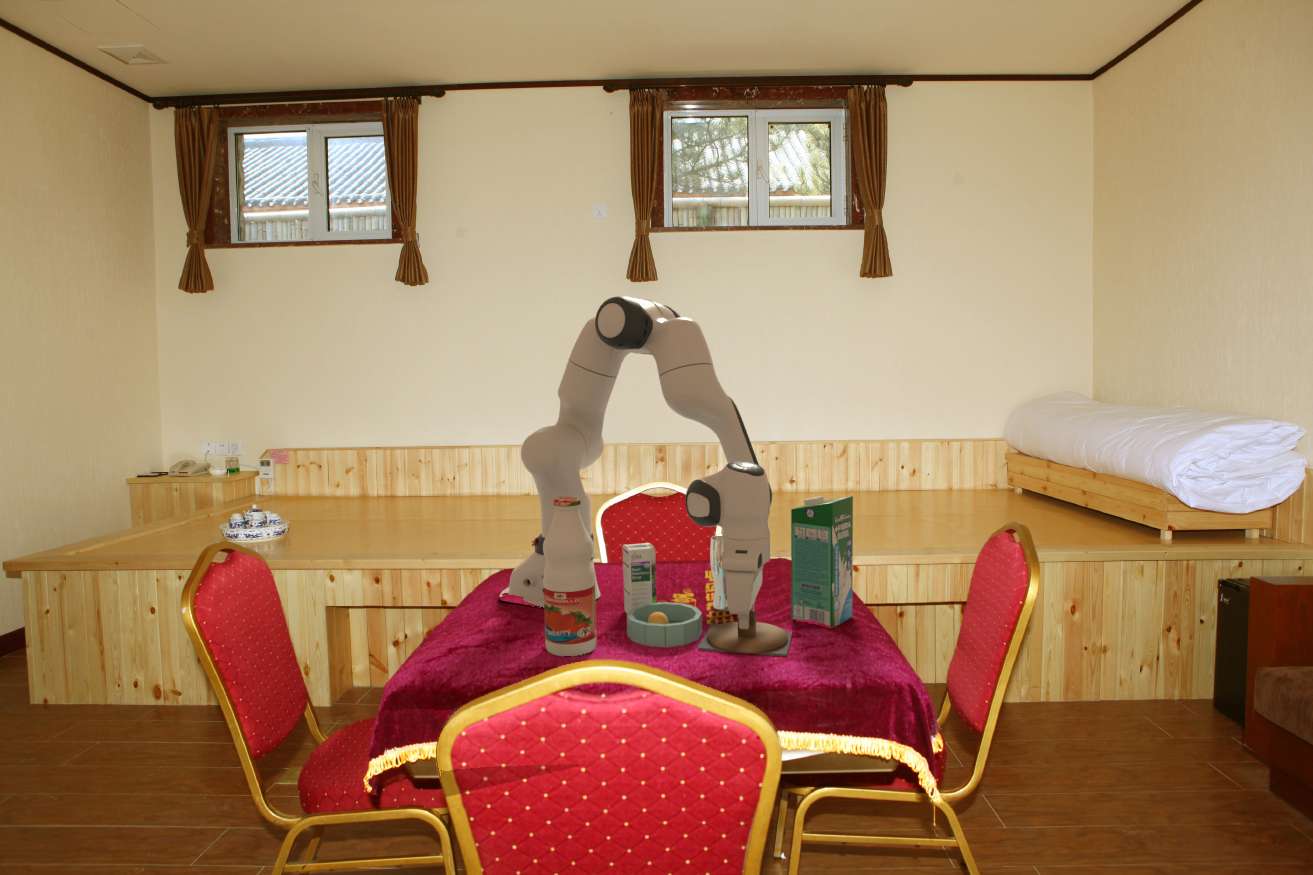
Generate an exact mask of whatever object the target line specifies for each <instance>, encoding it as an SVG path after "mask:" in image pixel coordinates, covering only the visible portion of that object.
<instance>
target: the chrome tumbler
mask: <svg viewBox="0 0 1313 875" xmlns="http://www.w3.org/2000/svg"><path fill="white" fill-rule="evenodd" d="M709 551H710V552H709V554H710V555H709V558H710V561H709V562H710V569H711V576H712V579H713V581H712V582H713V586H714V587H713V588H714V597H713V603H712V608H713V609H715V610H717V611H721V612H729V610H728V605H727V596H726V583H725V572H726V570H722V534H716V535H712V536H711V537H710V549H709Z"/></svg>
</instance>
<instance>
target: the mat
mask: <svg viewBox="0 0 1313 875" xmlns="http://www.w3.org/2000/svg"><path fill="white" fill-rule="evenodd" d="M717 625H718V624H710V625H709V628H708V629H707V630H706V633H705V635H704V636H703V638H702V640H701V642H700V643H699V645H698V646H697V650H698V651H709V652H710V651H711V652H722V653H730V652H729V651H724V650H722V649H719V648H716V647H714V646H712V645H711V644H710V643H709V642H708V641H707V632H708V631H709V630H710V629H711V628H713V627H715V626H717ZM782 629H783V630H784V631H785V630H787V631H785V632H786V633H787V632H788V630H789V629H787V628H782ZM787 635H788V641H787V643H786V644H785V645H784V646H783V647H781V648H779V649H777V650H773V651H769V652H763V653H746V655H747V654H748V655H759V656H760V655H761V656H775V657H776V656H777V657H785V658H786V657H788V653H789V649H790V646H791V642H792V638H793V634H792V633H789V632H788V633H787ZM791 637H792V638H791ZM732 653H735V652H732Z"/></svg>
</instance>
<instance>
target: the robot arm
mask: <svg viewBox="0 0 1313 875" xmlns="http://www.w3.org/2000/svg"><path fill="white" fill-rule="evenodd" d="M631 353H632V354H639V355H640V354H641V355H650V356H651V355H652V357H653V359H654V360H655V364H656V369H657V373H658V374H657V375H658V379H659V383H660V388H661V392H662V396H663V398H664V401H665V402H666V404H667V406H668V407H669V408H670V409H671V410H672V411H673V412H675V413H676V414H677V415H679V416H681V417H683V418H685V419H689V420H691V421H694V422H697V423H699V424H701V425H703V426H705V427H707V428H709V429H710V430H711V431H712V432H713V433H715V435H716V436H717V438H718V440H719V443H720V445H721V448H722V450H723V454H724V457H725V460H726V462H727V464H725V465H724V467H723V468H722V469H721V470H720V471H718V472H715V473H713V474H711V475H707V476H703V477H700V478H698V479H694V480H693V481H692V482H691V483H690V484H689V485H688V487H687V490H686V494H685V497H684V499H685V503H684V504H685V509H686V513H687V516H688V517H689V519H690V520H691V521H692V522H693V523H695V524H696V525H697V526H700V527H706V528H711V527H717V526H718V527H721V529H722V532H721V533H722V534H721V535H722V570H726V572H725V583H726V596H727V605H728V610H729V611H728V612H729V614H731V615H737V619H738V618H739V628H740V629H748V628H749V626H750V618H749V612H750V611H752V612H755V604H756V603H755V602H756V598H757V597H758V596H757V595H758V594H759V591H760V589H761V587H762V586H763V569H764V565H765V564H766V563H768V562H769V561H771V531H770V528H769V517H770V514H771V505H772V502H773V492H772V491H773V490H772V488H771V485H770V482H769V479H768V478H769V477H768V475H767V472H766V469H764V468H763V467H762V466H761V465H760V463H759V460H758V459H757V457H756V456H757V455H756V453H755V451H754V448H753V445H752V442H751V440H750V437H749V435H748V432H747V429H746V426H745V424H744V421H743V418H742V416H741V412H740V411H739V409H738V407H737V406H738V405H737V404H736V403H735V401H734V400H733V399H732V397H730V396H729V395H728V394H727V393H726V391H725V390H724V388H723V387H722V384H721V382H720V381H719V378H718V376H717V374H716V370H715V367H714V363H713V359H712V355H711V351H710V349H709V346H708V342H707V340H706V338H705V335H704V332H703V331H702V328H701V326H700V324H698V322H697V321H695V320H694V319H691V318H689V317H682V316H681V315H680V314H679V313H678V312H677V311H676V310H675V309H674V308H672V307H670V306H667V305H663V304H661V303H658V302H655V301H653V300H650V299H640V298H634V297H631V296H627V295H624V296H623V295H621V296H620V295H619V296H613V297H610V298H607V299H606V300H604V301H603V302H602V304H601V305H600V306H599V308H598V309H597V311H596V315H595V316H594V317H592V318H590V319H588V321H586V323H585V324H584V326H583V328H582V330H581V331H580V332H579V334H578V337H577V338H576V341H575V343H574V346H573V347H572V349H571V352H570V355H569V358H568V360H567V363H566V365H565V370H564V372H563V375H562V377H561V378H562V379H561V380H560V384H559V386H558V388H557V389H558V390H557V396H558V399H559V402H560V403H559V413H558V419H557V422H556V423H555V424H554V425H549V426H544V427H541V428H538V429H537V430H536V431H534V432H533V433H531V434H530V435H528V436H527V437H526V438H525V440H524V441H523V443H522V445H521V448H520V449H521V450H520V457H521V461H522V463H523V466H524V467H525V469H526V470H527V471H528V472H529V473H530V474H531V476H532V478H533V481H534V483H535V486H536V489H537V490H536V491H537V493H538V498H539V504H540V505H539V506H540V521H541V533H540V534H539V535H538V536H537V537H535V538H534V540H532V541H531V543H532V544H531V547H534V552H532V553H531V554H530V555H529V556H528V557H526V558H525V559H524V560H523V561H522V562H520V563H519V564H518V565H516V567H515V568H514V569H513V570H512V572H511V574H510V579H509V585H508V587H506V588H505V589H503V590H502V591H501V593H500V594H499V597H502V596H503V595H502V594H504V593H508V594H509V595H515V596H521V597H524V598H523V600H524V601H526V602H528V603H531V604H534V605H537V606H540V607H539V608H541V607H543V609H544V586H543V576H544V569H545V567H546V559H545V556H544V552H543V543H544V540H545V538H546V536H547V535H548V533H549V530H550V528H551V525H552V521H553V518H554V514H555V508H554V505H553V500H554V499H555V498H558V497H568V496H571V497H579V498H580V501H581V504H580V508H579V512H580V515H581V518H582V521H583V523H584V526H585V528H586V530H587V532H588V533H589V535H590V536H591V538H592V541H593V553H592V557H591V563H592V566H593V568H594V573H595V574H596V570H595V562H594V559H595V540H594V533H593V531H592V508H591V506H592V504H591V503H592V502H591V498H590V496H589V495H588V494H587V493H586V491H585V489H584V486H583V483H582V478H581V473H580V472H581V470H583V469H587V468H588V467H590V466H591V465H593V464H594V463H595V462H596V461H597V460H598V459H599V458H600V457H601V455H602V453H603V450H604V446H605V445H604V442H605V441H604V438H603V435H602V434H603V428H604V422H605V421H604V420H605V414H606V410H607V407H608V404H609V403H608V402H609V401H610V397H611V394H612V392H613V390H614V386H615V383H616V380H617V378H618V376H619V372H620V369H621V366H622V364H623V362H624V360H625V358H626V357H627V356H628V355H629V354H631ZM601 595H602V594H601V591H600V589H599V585H598V581H597V576H596V575H595V599H596V600H597V599H599V598H600V597H601Z"/></svg>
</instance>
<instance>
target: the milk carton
mask: <svg viewBox="0 0 1313 875" xmlns="http://www.w3.org/2000/svg"><path fill="white" fill-rule="evenodd" d="M803 502H804V505H801V506H798V507H794V508H791V510H790V512H791V513H790V514H791V515H790V516H791V517H790V524H791V525H790V529H791V530H790V534H791V536H790V538H791V539H790V540H791V542H790V543H791V544H790V545H791V546H790V550H791V551H790V552H791V554H790V556H791V557H790V558H791V563H790V564H791V565H790V567H791V569H790V570H791V571H790V573H791V574H790V575H791V577H790V579H791V582H790V584H791V586H790V587H791V590H790V592H791V593H790V595H791V596H790V599H791V605H790V606H791V615H790V616H791V619H798V620H811V621H816V622H819V623H823V624H825V625H829V626H830V627H834V626H836V627H837V625H838V626H839V625H841V624H843V623H844V622H846V621H847V620H850V619H851V618H853V578H854V577H853V566H854V565H853V564H854V562H853V561H854V560H853V553H854V552H853V551H854V550H853V549H854V547H853V546H854V545H853V544H854V543H853V542H854V541H853V540H854V538H853V537H854V535H853V534H854V533H853V532H854V526H853V525H854V516H853V515H854V496H852V495H851V496H850V495H849V496H845V497H837V498H831V499H827V500H826V499H825V498H824V495H820V496H815V497H814V496H813V497H807V498H805V499H803ZM834 628H835V627H834Z"/></svg>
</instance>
